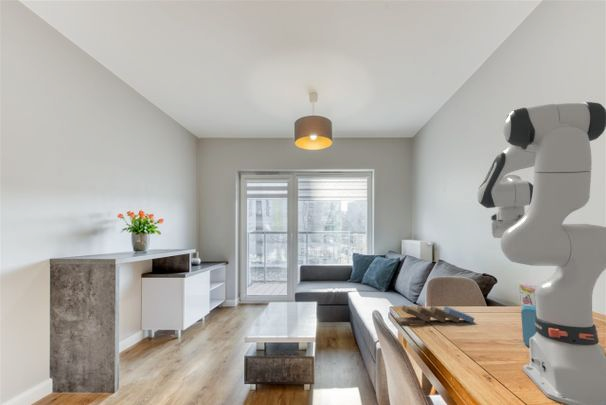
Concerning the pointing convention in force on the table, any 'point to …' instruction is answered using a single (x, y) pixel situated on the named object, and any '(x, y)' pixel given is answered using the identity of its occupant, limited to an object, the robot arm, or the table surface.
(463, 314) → the domino
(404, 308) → the domino
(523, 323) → the data package
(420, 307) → the domino
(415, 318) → the domino
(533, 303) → the candy bar box
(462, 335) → the table surface
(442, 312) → the domino
